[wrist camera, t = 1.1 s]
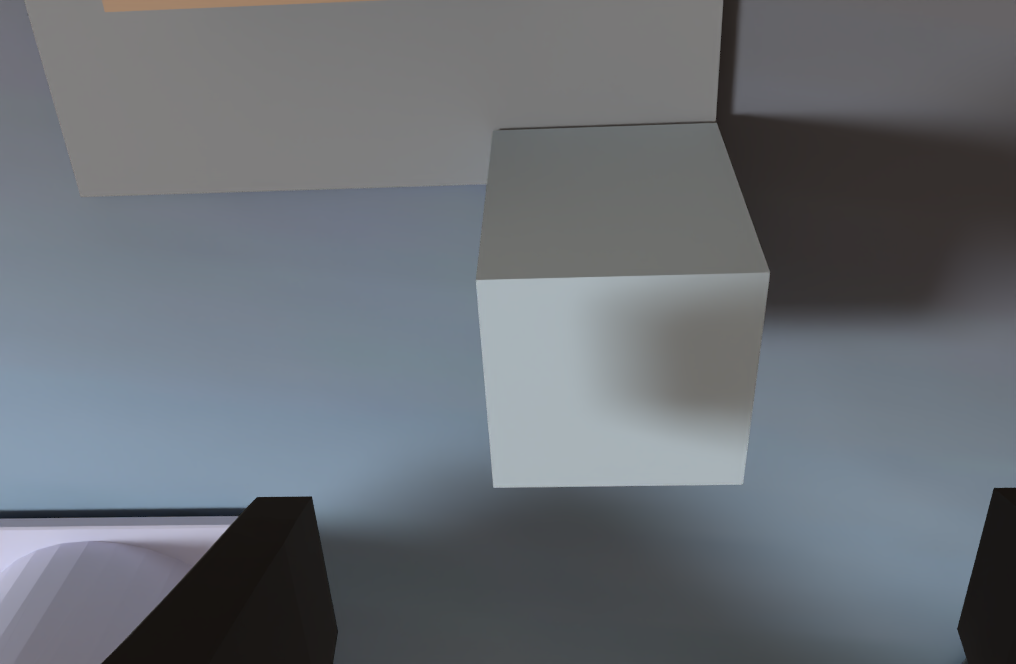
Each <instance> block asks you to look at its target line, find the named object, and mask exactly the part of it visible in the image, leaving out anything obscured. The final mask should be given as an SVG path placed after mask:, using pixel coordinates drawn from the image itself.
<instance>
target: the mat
mask: <svg viewBox="0 0 1016 664" xmlns="http://www.w3.org/2000/svg"><path fill="white" fill-rule="evenodd" d="M24 2H25V5H26V9H27V12H28V16H29V19H30V23H31V26H32V29H33V33H34V36H35V40H36V43H37V47H38V50H39V54H40V57H41V61H42V64H43V68H44V71H45V75H46V78H47V82H48V85H49V88H50V92H51V95H52V99H53V102H54V106H55V109H56V113H57V116H58V120H59V123H60V127H61V130H62V134H63V137H64V140H65V144H66V147H67V151H68V154H69V158H70V161H71V165H72V168H73V172H74V175H75V179H76V182H77V186H78V189H79V193H80V196H81V197H97V196H129V195H161V194H193V193H224V192H256V191H288V190H320V189H352V188H384V187H416V186H448V185H480V184H487V178H488V169H489V160H490V152H491V143H492V134H493V131H495V130H524V129H553V128H582V127H611V126H640V125H669V124H698V123H716V110H717V93H718V77H719V61H720V45H721V28H722V12H723V0H378V1H354V2H331V3H308V4H284V5H261V6H238V7H214V8H191V9H167V10H144V11H121V12H105V11H104V7H103V3H102V0H24Z"/></svg>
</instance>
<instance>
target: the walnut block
mask: <svg viewBox="0 0 1016 664" xmlns="http://www.w3.org/2000/svg"><path fill="white" fill-rule="evenodd" d="M354 1H378V0H102V3H103V7H104V11H105V12H121V11H144V10H167V9H191V8H214V7H238V6H261V5H284V4H308V3H331V2H354Z"/></svg>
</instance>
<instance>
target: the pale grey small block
mask: <svg viewBox="0 0 1016 664" xmlns="http://www.w3.org/2000/svg"><path fill="white" fill-rule="evenodd" d="M769 277H770V271H769V268H768V265H767V262H766V260H765V257H764V254H763V251H762V248H761V246H760V243H759V240H758V237H757V234H756V232H755V229H754V226H753V223H752V220H751V218H750V215H749V212H748V209H747V206H746V203H745V201H744V198H743V195H742V192H741V189H740V187H739V184H738V181H737V178H736V175H735V173H734V170H733V167H732V164H731V161H730V159H729V156H728V153H727V150H726V147H725V144H724V142H723V139H722V136H721V133H720V130H719V128H718V125H717V123H698V124H669V125H640V126H611V127H582V128H553V129H524V130H495V131H493V134H492V143H491V152H490V160H489V169H488V178H487V187H486V196H485V204H484V213H483V222H482V231H481V240H480V248H479V257H478V266H477V275H476V287H477V299H478V311H479V323H480V334H481V346H482V358H483V370H484V382H485V393H486V405H487V417H488V429H489V441H490V453H491V464H492V476H493V488H509V487H588V486H667V485H743V479H744V471H745V464H746V456H747V448H748V440H749V433H750V425H751V417H752V409H753V401H754V394H755V386H756V378H757V370H758V363H759V355H760V347H761V339H762V332H763V324H764V316H765V308H766V300H767V293H768V285H769Z"/></svg>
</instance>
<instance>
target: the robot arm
mask: <svg viewBox="0 0 1016 664" xmlns="http://www.w3.org/2000/svg"><path fill="white" fill-rule="evenodd" d="M957 630H958V633H959V636H960V639H961V642H962V645H963V648H964V652H965V655H966V658H967V661H968V664H1016V488H994V490H993V494H992V497H991V501H990V505H989V509H988V513H987V517H986V521H985V524H984V528H983V532H982V536H981V540H980V544H979V547H978V551H977V555H976V559H975V563H974V567H973V570H972V574H971V578H970V582H969V586H968V590H967V594H966V597H965V601H964V605H963V609H962V613H961V617H960V620H959V624H958V628H957ZM337 634H338V630H337V625H336V619H335V614H334V609H333V604H332V599H331V593H330V588H329V583H328V578H327V573H326V567H325V562H324V557H323V552H322V547H321V542H320V536H319V531H318V526H317V521H316V516H315V510H314V505H313V500H312V497H257V498H256V499H255V500H254V501H253V502H252V503H251V504H250V505H249V506H248V507H247V508H246V509H245V510H244V511H243V512H242V513H241V514H240V515H239V516H199V517H110V518H21V519H0V664H333V659H334V653H335V647H336V640H337Z"/></svg>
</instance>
